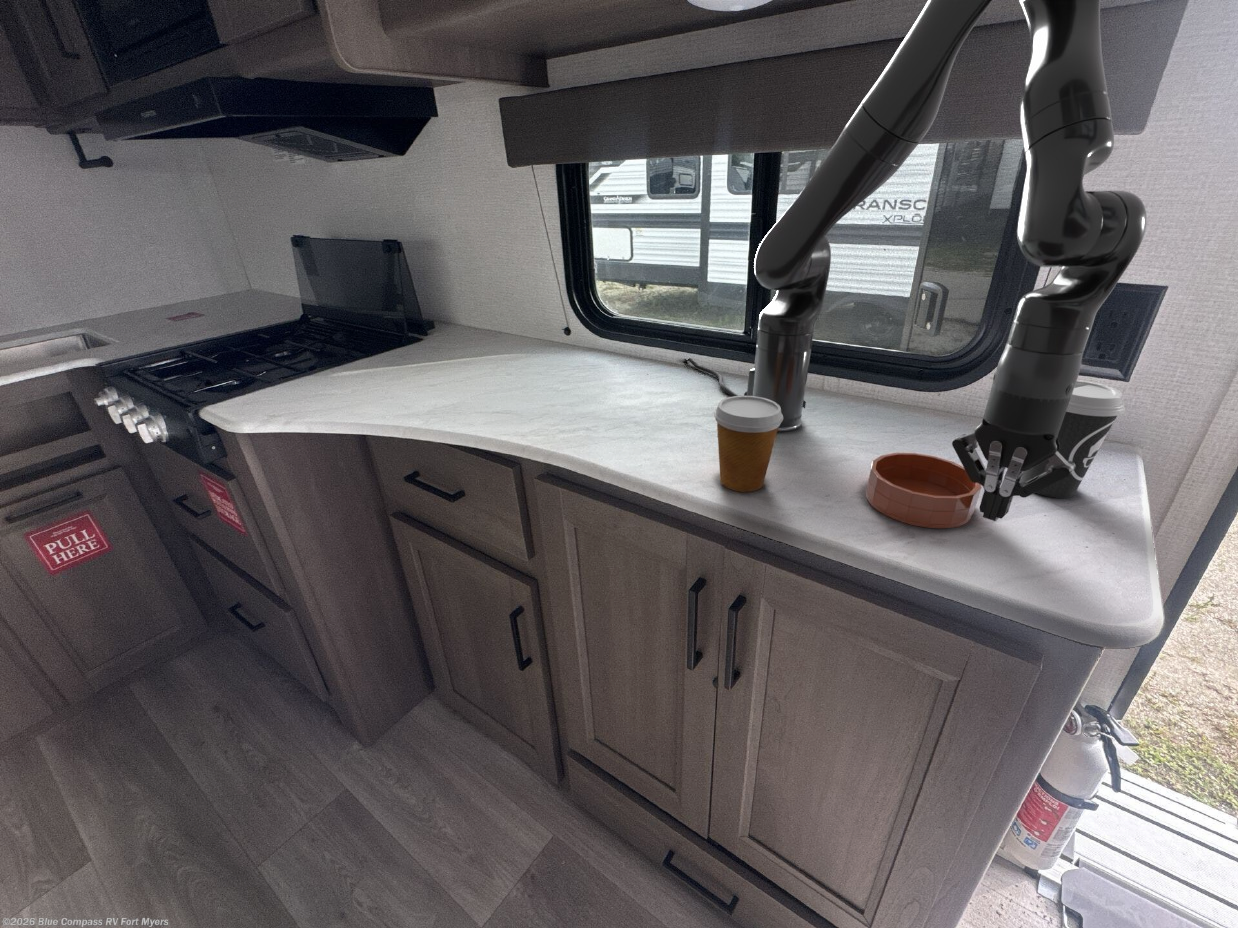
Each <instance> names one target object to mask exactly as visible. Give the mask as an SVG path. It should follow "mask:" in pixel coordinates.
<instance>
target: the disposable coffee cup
mask: <svg viewBox="0 0 1238 928" xmlns="http://www.w3.org/2000/svg"><path fill="white" fill-rule="evenodd" d="M713 415H714V418H715V421H716V427H717V428H716V430H717V446H718V462H719V463H718V464H719V482H720V484H721V485H722V486H724V487H725V488H727V489H729V490H732V491H735V492H743V493H744V492H748V493H749V492H755V491H757V490H759V489H761V488H762V487H763V486H764V483H765V479H766V475H767V472H768V468H769V464H770V460H771V457H772V453H773V450H774V445H775V442H776V438H777V434H778V432H779V431H778V427H779V426H780V424H781V422H782V421H783V415H782V413H781V407H780V406H779V405H778V404H777V403H776V402H774V401H772V400H769V399H766V398H762V397H755V396H744V395H738V396H733V397H731V396H729V397H725V398H723V399H721V400H719V402H718V404H717V407H716V408H715V409H714V411H713Z"/></svg>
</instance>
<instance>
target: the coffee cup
mask: <svg viewBox="0 0 1238 928" xmlns="http://www.w3.org/2000/svg"><path fill="white" fill-rule="evenodd" d="M1125 408H1126V406H1125V402H1124V400H1123V393H1122V392H1121V391H1120V390H1119V389H1117V388H1115V387H1112V386H1110V385H1106V384H1102V383H1098V382H1094V381H1089V380H1082V379H1077V381H1076V384H1075V387H1074V390H1073V393H1072V396H1071V399H1070V401H1069V404H1068V407H1067V410H1066V413H1065V416H1064V419H1063V422H1062V425H1061V428H1060V430H1059V433H1058V441H1059V444H1060V447H1059V450H1058V452H1059V453H1060V454H1061V455H1062V456H1063V457H1064V459H1065V460H1066V461H1072V462H1074V463H1075V465H1076V467H1075V469H1074V470H1073V471H1072V473H1071V474H1070V475H1069V476H1068V477H1066V478H1064V479H1062V480H1060V481H1058V482H1056V483H1054V484H1052V485H1050V486H1048V487H1046V488H1044V489H1042V490H1040V491H1038V492H1036V493H1035V494H1038V495H1041V496H1045V497H1049V498H1055V499H1068V498H1072V497H1074V496H1075V494H1076V493H1077V490H1078V489H1079V487H1080V485H1081V483H1082V482H1083V479H1084V477H1085V476H1086V474H1087V472H1088V470H1089V468H1090V467H1091V465H1092V463H1093V461H1094V459H1095V458H1096V455H1097V454H1098V452H1099V450H1100V448H1101V446H1102V445H1103V443H1104V440H1105V439H1106V437H1107V435H1108V433H1109V432H1110V430H1111V429H1112V427H1113V425H1114V423H1115V421H1116V420H1117V417H1118V416H1121V415H1123V414H1124V413H1125ZM1048 463H1049V459H1047V460H1045V461H1044V462H1042V463H1040V464H1038V465H1037V466H1035V467H1033V468H1032V469H1030V470H1027V471H1025V472H1024V474H1023V475H1022V477H1021V480H1020V483H1025V482H1027V481H1029V480H1031V479H1033V478H1035V477H1037V476H1039V475H1041V474H1043V473H1044V472H1046V471H1045V467H1046V466H1047V465H1048Z"/></svg>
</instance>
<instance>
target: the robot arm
mask: <svg viewBox="0 0 1238 928" xmlns="http://www.w3.org/2000/svg"><path fill="white" fill-rule="evenodd" d="M993 1H994V0H927V2H926V3H925V6H924V7H923V9H922V11H921V12H920V14H919V15H918V17H917V19H916V20H915V22H914V24H913V25H912V27H911V28H910V30H909V31H908V32H907V34H906V36H905V37H904V39H903V41H902V42H901V43H900V45H899V47H898V48H897V49H896V51H895V53H894V55H893V56H892V58H890V60H889V62H888V63H887V65H886V67H885V68H884V70H883V71H882V73H881V74H880V76H879V77H878V79H877V80H876V82H875V83H874V84H873V85H872V87H871V88H870V90H869V91H868V93H867V94H866V95H865V97H864V98H863V99H862V101H861V102H860V104H859V105H858V107H857V109H856V110H855V111H854V113H853V114H852V116H851V117H850V119H849V120H848V122H847V123H846V125H845V126H844V128H843V129H842V131H841V132H840V134H839V136H838V137H837V139H836V141H835V142H834V144H833V145H832V147H831V148H830V150H829V151H828V152H827V154H826V155H825V157H824V158H823V159H822V161H821V162H820V163H819V166H817V168H816V170H815V171H814V173H813V174H812V176H811V177H810V179H809V180H808V182H807V183H806V185H805V186H804V188H803V189H802V190H801V192H800V193H799V194H798V196H796V198H795V200H794V201H793V202H792V203H791V204H790V206H789V207H788V208H787V209H786V211H785V212H784V213H783V214H782V215H781V217H780V218H779V219H778V220H777V222H776V223H775V224H774V225H773V226H772V228H771V229H770V230H769V231H768V232H767V234H766V235H765V236H764V238H763V239H762V241H760V242H761V243H759V246H758V248H757V251H756V254H755V258H754V262H753V263H754V265H753V266H754V267H753V268H754V275H755V278H756V280H757V282H758V283H759V284H760V286H762V287H763V288H765V289H768V290H772V291H776V294H775V296H774V297H773V299H772V301H771V302H770V303H769V304H768V305H767V306H766V307H765V308H764V309H762V311H761V312H760V314H759V317H758V324H757V325H758V326H757V327H758V328H757V336H756V347H755V358H754V367H753V368H752V369H750V370H749V371H748V377H747V378H748V379H747V388H746V389H747V390H746V391H745V392H744V393H743V396H755V397H762V398H766V399H769V400H772V401H774V402H776V403H777V404H778V405H779V406H780V407H781V413H782V415H783V421H782V422H781V424H780V426H779V427H778V431H777V432H790V431H794V430H797V429H798V428H800V427H801V425H802V417H803V409H806V405H807V401H805V394H806V388H807V381H808V374H809V367H810V360H811V353H812V346H813V339H814V333H815V326H816V322H817V320H818V318H819V317H820V315H821V313H822V309H823V306H824V301H825V298H826V297H825V296H826V291H827V287H828V282H829V281H828V280H829V277H830V271H831V262H832V250H831V245H830V241H829V239H828V237H827V234H828V233H830V231H831V229H832V228H834V226H835V225H836V224H837V223H838V222H839V221H840V220H841V219H842V218H843V217H844V216H846V215H847V214H848V213H849V212H851V211H852V210H853V209H855V208H856V207H857V206H859V204H861V203H862V202H864V201H865V200H866V199H867V198H869V197H870V196H871V195H872V194H873V193H874V192H876V191H877V190H878V189H880V188H881V187H882V186H883V185H884V184H885V183H886V182H888V180H889V179H891V177H893V175H894V174H895V173H897V171H898V170H899V169H900V168H901V167H902V166H903V164H904V163H905V162H906V160H907V159H909V157H910V155H911V154H912V153H913V151H914V150H915V149H916V148H917V147H918V146H919V144H920V143H921V142H922V141H923V139H924V138H925V136H926V135H927V134H928V132H929V131H930V129H931V127H932V126H933V124H934V121H935V120H936V117H937V115H938V114H939V113H938V112H939V110H940V106H941V104H942V102H943V99H944V95H945V92H946V88H947V85H948V82H949V79H950V76H951V72H952V69H953V66H954V63H955V61H956V58H957V56H958V54H959V52H960V50H961V48H962V46H963V44H964V42H965V40H966V39H967V37H968V36H969V34H970V32H971V31H972V30H973V29H974V27H975V26H976V24H977V23H978V22H979V20H980V19H981V17H982V16H983V14H984V13H985V11H986V10H987V9H988V8H989V6H990V5H991V4H992V3H993ZM1017 1H1018V3H1019V6H1020V8H1021V10H1022V13H1023V16H1024V18H1025V21H1026V24H1027V28H1028V32H1029V33H1028V34H1029V40H1030V41H1029V43H1030V53H1029V61H1028V65H1027V68H1026V72H1025V75H1024V80H1023V82H1022V88H1021V93H1020V101H1019V120H1020V122H1019V123H1020V131H1021V137H1022V144H1023V151H1024V157H1025V163H1026V172H1025V177H1024V183H1023V189H1022V195H1021V202H1020V207H1019V213H1018V218H1017V224H1016V225H1017V227H1016V238H1017V239H1016V240H1017V244H1018V247H1019V249H1020V251H1021V253H1022V254H1023V256H1024V257H1025V259H1026V260H1027V261H1029V262H1030V263H1031V264H1032V265H1034V266H1036V267H1040V268H1041V267H1042V268H1060V269H1059V270H1058V272H1057V274H1056V275H1055V277H1054V278H1053V279H1052V281H1051V282H1050V283H1048V284H1047V285H1045V286H1042V287H1041V288H1037V289H1034V290H1032V291H1029V292H1027V293H1025V294H1024V295H1023V296H1022V297H1021V298H1020V299H1019V301H1018V303H1017V306H1016V310H1015V311H1014V312H1015V313H1014V315H1013V320H1012V323H1011V326H1010V330H1009V334H1008V337H1007V341H1006V344H1005V347H1004V349H1003V352H1002V354H1001V356H1000V358H999V361H998V363H997V366H996V370H994V374H993V378H992V384H991V388H990V390H989V391H990V392H989V396H988V399H987V402H986V406H985V409H984V413H983V416H982V420H981V422H980V424H979V425H977V426H976V427H975V429H974V430H973V431H974V432H972V433H968V434H961V435H959V436H958V437H956V438H955V439H954V440H953V441H952V443H951V446H952V447H953V450H954V451H955V453H956V455H957V457H958V459H959V461H960V462H961V466H962V467H964V469H965V470H966V472H967V474H968V476H969V478H970V480H971V481H972V482H974V483H979V484H980V485H981V487H983V490H984V491H983V494H982V497H981V501H980V504H979V513H983V514H982V518H984V519H987V520H990V521H993V522H997V521H998V520H999V519H1000V520H1002V519H1003V518H1004V517H1005V516H1006V515H1007V514H1008V513H1009V511H1010V508H1011V504H1012V502H1013V498H1014V497H1021V498H1028V497H1029V496H1032V495H1034V494H1037V493H1036V492H1038V491H1040V490H1042V489H1044V488H1046V487H1048V486H1050V485H1052V484H1054V483H1056V482H1058V481H1060V480H1062V479H1064V478H1066V477H1068V476H1069V475H1070V474H1071V473H1072V471H1073V470H1074V469H1075V467H1076V465H1075V463H1074V462H1072V461H1066V460H1065V459H1064V457H1063V456H1062V455H1061V454H1060V453H1059V452H1058V450H1059V447H1060V444H1059V441H1058V433H1059V430H1060V428H1061V425H1062V422H1063V419H1064V416H1065V413H1066V410H1067V407H1068V404H1069V401H1070V399H1071V396H1072V393H1073V390H1074V387H1075V384H1076V381H1077V380H1078V378H1079V375H1080V371H1081V366H1082V361H1083V356H1084V353H1085V352H1084V351H1085V349H1086V347H1087V343H1088V341H1089V337H1090V334H1091V332H1092V328H1093V325H1094V322H1095V319H1096V316H1097V313H1098V311H1099V310H1100V308H1101V307H1102V305H1103V304H1104V303H1105V301H1106V300H1107V299H1108V297H1109V296H1110V294H1111V293H1112V292H1113V290H1114V288H1116V285H1117V284H1118V282H1119V281H1120V279H1121V278H1122V276H1123V275H1124V273H1125V271H1126V270H1127V268H1129V265H1130V264H1131V262H1132V261H1133V259H1134V257H1135V256H1136V254H1137V252H1138V250H1139V249H1140V247H1141V245H1142V242H1143V240H1144V237H1145V233H1146V230H1147V229H1146V228H1147V218H1148V217H1147V211H1146V206H1145V204H1144V202H1143V201H1142V199H1141V198H1140V197H1139V196H1137V195H1136V194H1135V193H1132V192H1130V191H1125V190H1088V191H1087V190H1085V188H1084V176H1085V175H1087V174H1089V173H1091V172H1093V171H1095V170H1096V169H1098V168H1099V167H1101V166H1102V165H1103V164H1105V162H1107V160H1108V159H1109V158H1110V157H1111V155H1112V153H1113V151H1114V146H1115V132H1114V131H1115V130H1114V126H1113V118H1112V110H1111V104H1110V98H1109V93H1108V92H1109V91H1108V86H1107V85H1108V84H1107V80H1106V74H1105V73H1106V72H1105V66H1104V58H1103V51H1102V49H1103V48H1102V35H1101V0H1017ZM687 362H689V363H690V364H691V365H692V366H694V367H695V368H696V369H698V370H700V371H703V372H705V373H708V374H711V375H712V376H714V377H716V378H717V379H718V384H719V387H720V389H721V390H722V391H724V393H726V394H727V395H729V397H733V396H739V395H738V394H737V393H735V392H733V391H732V390H731V389H730V388H729V387H727V386H726V385H725V384H724V377H723V376H722V375H721V373H719V372H717V371H716V370H714V369H711V368H708V367H706V366H703V365H701V364H699V363H697V362H696V361H695V360H694V359H693V358H691V357H690V358H689V359H688V360H686V359H685V358H684V359H683V360H682V363H687ZM978 447H979V449H980V451H981V453H982V455H983V458H984V459H985V460H986V461H987V463H986V466H985V464H984V462H983V461H982V458H981V456H980V455H979V453H978V451H977V448H978ZM1047 459H1049V463H1048V465H1047V466H1046V467H1045V471H1046V472H1044V473H1043V474H1041V475H1039V476H1037V477H1035V478H1033V479H1031V480H1029V481H1027V482H1025V483H1021V477H1022V475H1023V474H1024V472H1025V471H1027V470H1030V469H1032V468H1033V467H1035V466H1037V465H1038V464H1040V463H1042V462H1044V461H1045V460H1047ZM1006 469H1007V470H1006ZM1005 470H1006V472H1005ZM1004 474H1005V475H1004Z"/></svg>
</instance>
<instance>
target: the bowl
mask: <svg viewBox="0 0 1238 928" xmlns="http://www.w3.org/2000/svg"><path fill="white" fill-rule="evenodd" d="M981 490H982V485H980V484H979V483H974V482H972V481H971V480H970V478H969V476H968V474H967V472H966V470H965V469H964V467H963V465H961V464H959V463H957V462H955V461H951V460H948V459H945V458H941V457H939V456H935V455H929V454H923V453H916V452H893V453H886V454H882V455H880V456H878V457H876V458H875V459H873V460H872V461H871V466H870V471H869V475H868V480H867V485H866V490H865V497H866V500H867V501H868V503H869V504H870V505H871V506H872V507H873V508H874V509H875V510H876V511H878V512H880V513H881V514H882V515H885V516H887V517H888V518H891V519H892V520H895V521H898V522H901V523H903V524H908V525H912V526H916V527H921V528H928V529H951V528H957V527H960V526H963V525H964V524H965V525H966V524H967V523H968V522H969V521H970V520H971V518H972V516H973V514H974V513H975V509H976V507H977V503H978V500H979V497H980V494H981Z"/></svg>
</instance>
